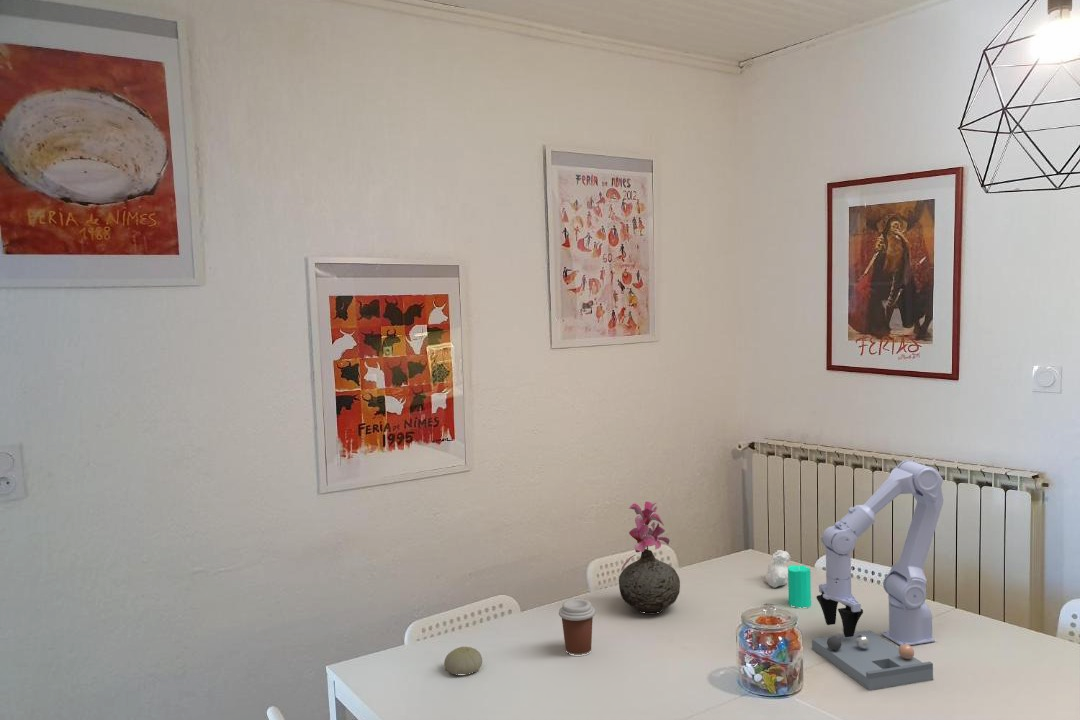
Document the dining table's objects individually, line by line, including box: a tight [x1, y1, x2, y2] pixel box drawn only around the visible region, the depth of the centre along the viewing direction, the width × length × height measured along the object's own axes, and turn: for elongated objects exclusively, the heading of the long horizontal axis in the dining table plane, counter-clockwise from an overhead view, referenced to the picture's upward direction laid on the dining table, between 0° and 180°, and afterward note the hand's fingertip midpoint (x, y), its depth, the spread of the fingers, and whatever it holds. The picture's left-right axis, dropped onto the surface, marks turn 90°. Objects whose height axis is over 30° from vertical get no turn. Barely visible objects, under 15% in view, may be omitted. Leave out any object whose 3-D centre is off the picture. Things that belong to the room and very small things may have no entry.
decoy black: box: [827, 635, 842, 650], centre depth 183 cm, size 3×3×3 cm
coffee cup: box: [558, 598, 596, 655], centre depth 194 cm, size 9×9×12 cm
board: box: [811, 630, 934, 691], centre depth 181 cm, size 16×22×4 cm
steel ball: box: [855, 635, 870, 649], centre depth 183 cm, size 3×3×3 cm
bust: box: [764, 549, 791, 589], centre depth 235 cm, size 12×8×11 cm
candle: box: [787, 564, 812, 608], centre depth 217 cm, size 6×6×12 cm
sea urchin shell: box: [444, 646, 483, 675], centre depth 187 cm, size 9×8×8 cm
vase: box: [618, 501, 681, 614], centre depth 218 cm, size 17×18×30 cm
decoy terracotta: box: [898, 644, 915, 659], centre depth 177 cm, size 3×3×3 cm
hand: (839, 630), depth 192 cm, fingers open, 7 cm apart
